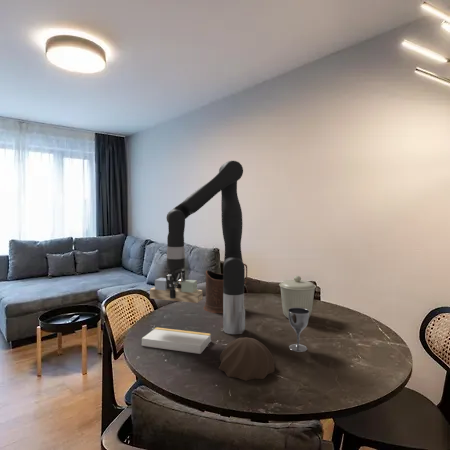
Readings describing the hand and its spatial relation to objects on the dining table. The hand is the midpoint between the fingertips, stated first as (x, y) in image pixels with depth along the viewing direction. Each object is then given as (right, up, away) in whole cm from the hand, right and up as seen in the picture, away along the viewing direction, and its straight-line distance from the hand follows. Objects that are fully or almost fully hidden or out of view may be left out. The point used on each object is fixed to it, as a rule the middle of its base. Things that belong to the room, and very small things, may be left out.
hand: (176, 296), depth 139 cm
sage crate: (+6, +3, -2) cm, 7 cm away
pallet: (0, -1, 0) cm, 1 cm away
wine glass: (+50, -18, -10) cm, 54 cm away
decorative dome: (+28, -19, -25) cm, 42 cm away
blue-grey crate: (-6, +3, +2) cm, 7 cm away
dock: (+1, -18, -6) cm, 19 cm away
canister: (+57, -16, +26) cm, 65 cm away
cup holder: (+21, -16, +41) cm, 49 cm away
